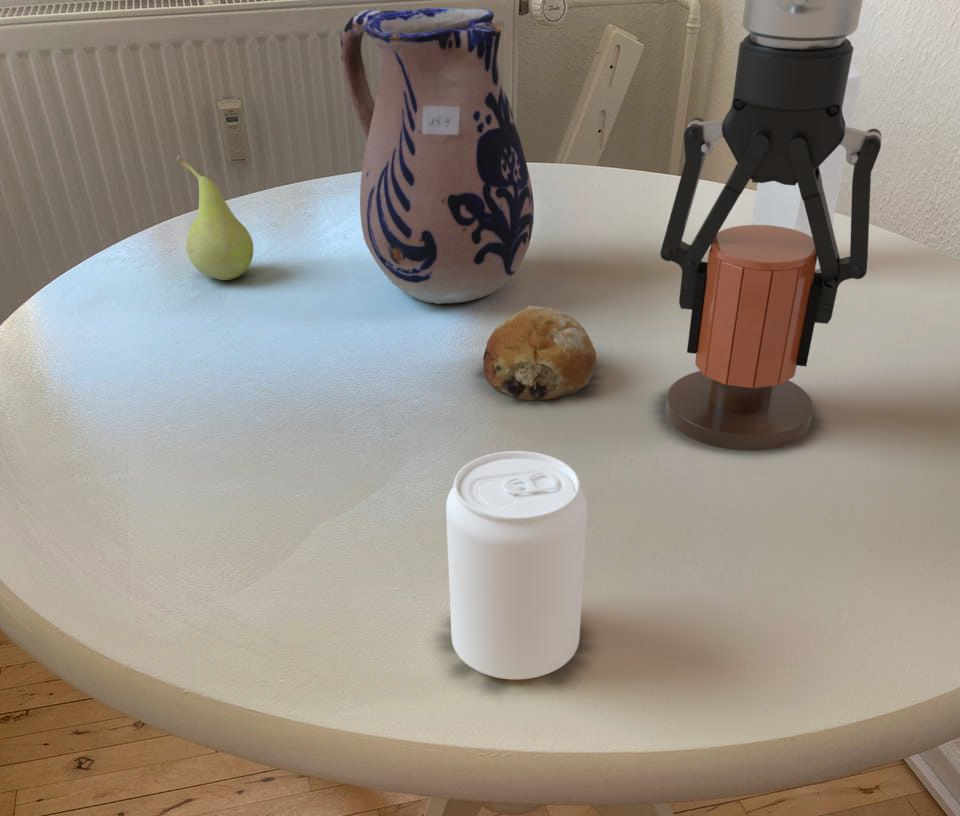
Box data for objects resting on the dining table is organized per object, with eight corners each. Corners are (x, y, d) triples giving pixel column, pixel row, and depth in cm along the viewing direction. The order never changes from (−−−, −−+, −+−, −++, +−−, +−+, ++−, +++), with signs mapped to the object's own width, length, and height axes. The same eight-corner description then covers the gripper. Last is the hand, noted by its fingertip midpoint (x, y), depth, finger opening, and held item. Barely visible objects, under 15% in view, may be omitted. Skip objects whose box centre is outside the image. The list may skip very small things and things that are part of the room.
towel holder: (814, 392, 93) (847, 231, 84) (804, 460, 84) (840, 288, 75) (677, 375, 96) (696, 217, 87) (654, 440, 87) (672, 272, 78)
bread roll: (601, 419, 97) (631, 333, 94) (533, 412, 89) (564, 317, 86) (522, 385, 102) (548, 302, 99) (452, 375, 94) (477, 284, 92)
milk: (824, 268, 114) (872, 38, 100) (785, 281, 112) (829, 47, 98) (781, 251, 118) (821, 27, 104) (743, 264, 116) (779, 36, 101)
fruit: (228, 295, 111) (207, 175, 103) (175, 281, 114) (151, 164, 106) (269, 274, 115) (252, 157, 108) (218, 261, 118) (198, 147, 111)
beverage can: (436, 619, 70) (428, 460, 62) (551, 594, 71) (557, 436, 64) (474, 699, 64) (470, 534, 56) (598, 670, 66) (611, 506, 58)
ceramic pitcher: (480, 336, 102) (475, 46, 86) (305, 296, 111) (271, 23, 94) (561, 275, 114) (570, 8, 98) (397, 242, 122) (380, -9, 106)
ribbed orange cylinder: (799, 350, 89) (822, 229, 82) (791, 393, 83) (815, 267, 77) (703, 339, 91) (718, 220, 84) (689, 381, 85) (704, 256, 78)
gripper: (634, 40, 71) (612, 357, 86) (963, 56, 66) (880, 389, 81) (653, 18, 77) (629, 319, 91) (959, 31, 72) (882, 347, 86)
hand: (747, 352), depth 86 cm, fingers closed on ribbed orange cylinder, 8 cm apart
